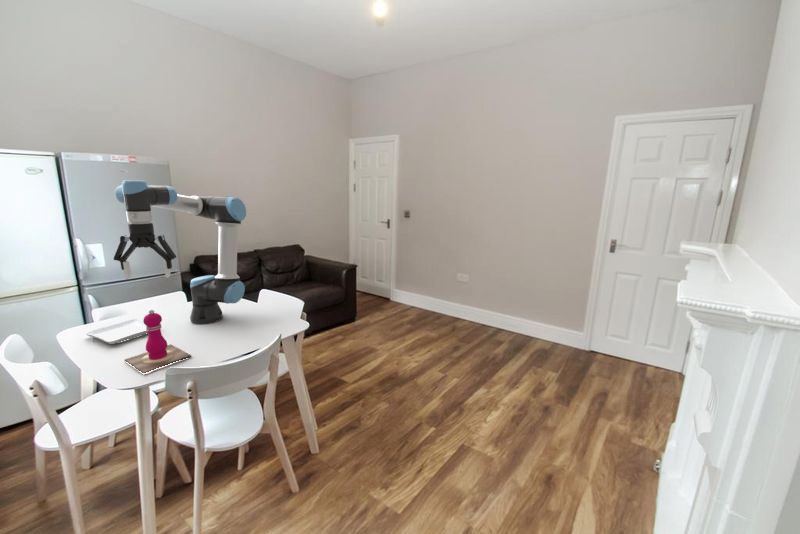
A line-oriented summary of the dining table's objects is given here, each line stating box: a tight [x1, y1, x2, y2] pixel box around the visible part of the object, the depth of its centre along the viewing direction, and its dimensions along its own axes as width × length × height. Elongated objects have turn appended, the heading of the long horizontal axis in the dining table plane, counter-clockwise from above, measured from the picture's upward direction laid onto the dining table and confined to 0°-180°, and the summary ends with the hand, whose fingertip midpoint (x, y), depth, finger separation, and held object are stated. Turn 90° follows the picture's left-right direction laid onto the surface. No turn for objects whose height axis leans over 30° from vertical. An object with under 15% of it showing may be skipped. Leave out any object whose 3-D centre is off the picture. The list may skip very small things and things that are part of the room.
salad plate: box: [85, 318, 148, 345], centre depth 163 cm, size 21×21×3 cm
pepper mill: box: [142, 309, 168, 360], centre depth 139 cm, size 7×7×20 cm
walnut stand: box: [124, 343, 192, 373], centre depth 141 cm, size 17×17×2 cm
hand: (148, 277), depth 134 cm, fingers open, 13 cm apart
